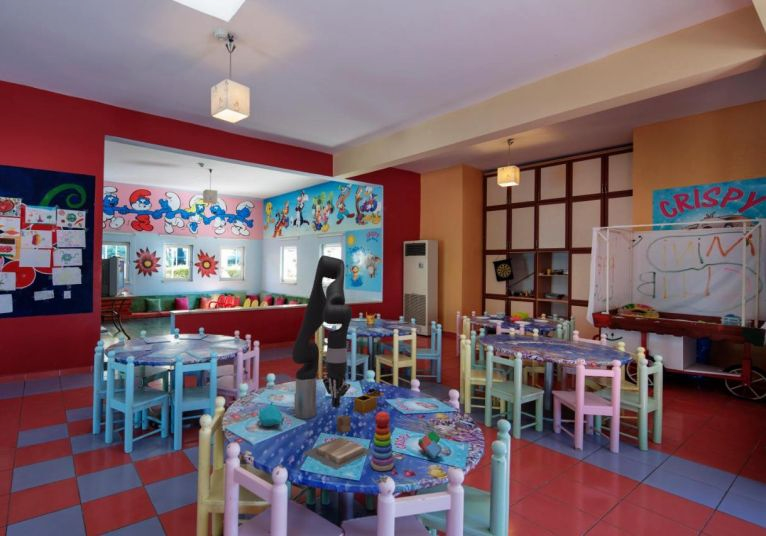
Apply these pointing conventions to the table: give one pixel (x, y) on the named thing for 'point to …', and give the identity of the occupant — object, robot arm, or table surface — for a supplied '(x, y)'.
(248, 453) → the table surface
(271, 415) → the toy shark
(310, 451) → the mat
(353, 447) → the tile
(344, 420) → the block
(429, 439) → the building blocks
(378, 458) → the stacking toy
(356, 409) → the spider toy trap
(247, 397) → the table surface
